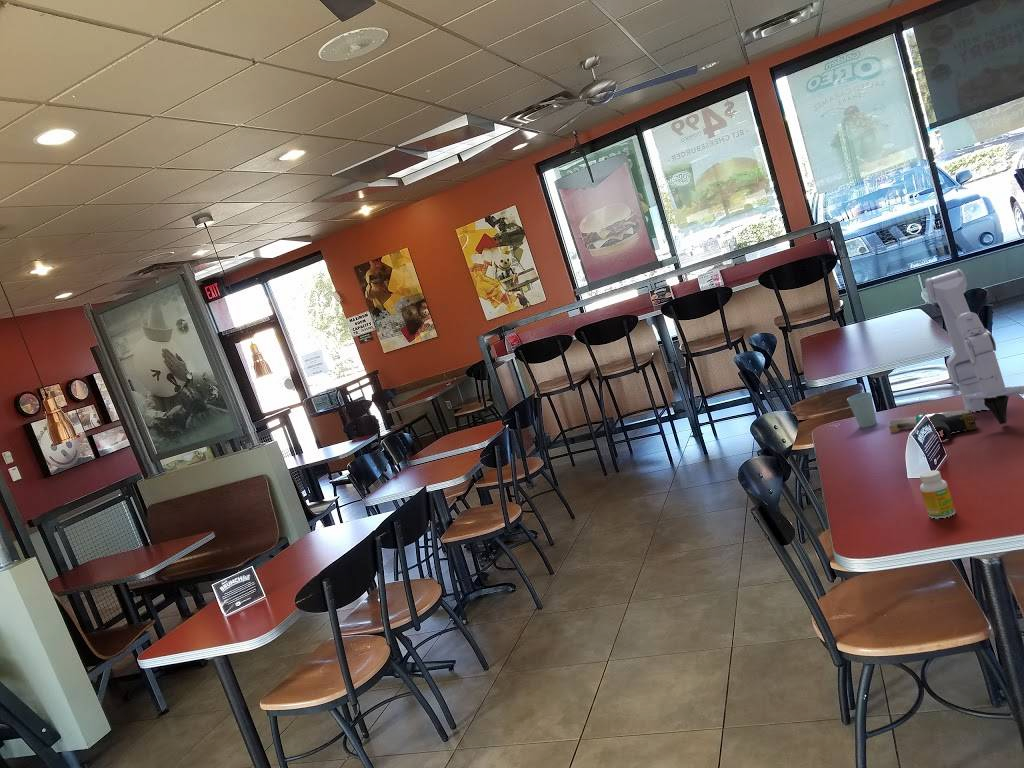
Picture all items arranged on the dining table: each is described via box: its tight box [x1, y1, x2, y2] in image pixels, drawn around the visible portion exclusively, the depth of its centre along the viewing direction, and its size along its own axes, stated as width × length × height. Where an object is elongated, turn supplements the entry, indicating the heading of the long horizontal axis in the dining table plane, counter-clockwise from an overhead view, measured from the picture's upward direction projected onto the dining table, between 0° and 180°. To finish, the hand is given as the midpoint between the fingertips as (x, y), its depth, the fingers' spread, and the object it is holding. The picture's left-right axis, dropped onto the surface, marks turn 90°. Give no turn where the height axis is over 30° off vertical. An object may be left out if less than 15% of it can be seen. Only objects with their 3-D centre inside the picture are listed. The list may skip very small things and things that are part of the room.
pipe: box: [888, 408, 974, 434], centre depth 236 cm, size 22×5×4 cm, turn 47°
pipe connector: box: [929, 412, 978, 441], centre depth 221 cm, size 12×5×15 cm
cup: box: [846, 392, 877, 429], centre depth 260 cm, size 8×8×10 cm
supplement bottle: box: [919, 470, 957, 520], centre depth 169 cm, size 5×5×10 cm
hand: (1003, 422), depth 212 cm, fingers closed
